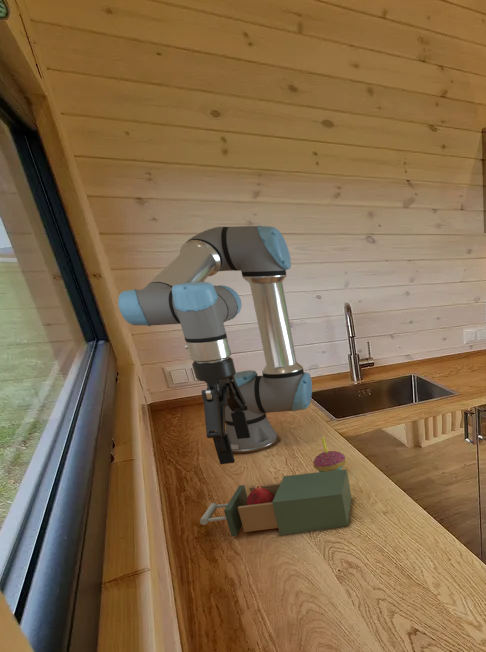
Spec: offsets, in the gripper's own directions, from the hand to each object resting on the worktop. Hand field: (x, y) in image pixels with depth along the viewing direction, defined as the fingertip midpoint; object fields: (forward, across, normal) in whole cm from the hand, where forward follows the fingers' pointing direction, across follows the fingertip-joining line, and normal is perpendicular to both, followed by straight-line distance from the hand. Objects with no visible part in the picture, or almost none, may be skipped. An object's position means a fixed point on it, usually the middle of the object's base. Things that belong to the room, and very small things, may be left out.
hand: (236, 449), depth 111 cm
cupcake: (+18, -16, +17) cm, 29 cm away
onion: (+15, +5, +4) cm, 17 cm away
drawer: (+16, +5, +2) cm, 17 cm away
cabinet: (+17, +5, +16) cm, 24 cm away
